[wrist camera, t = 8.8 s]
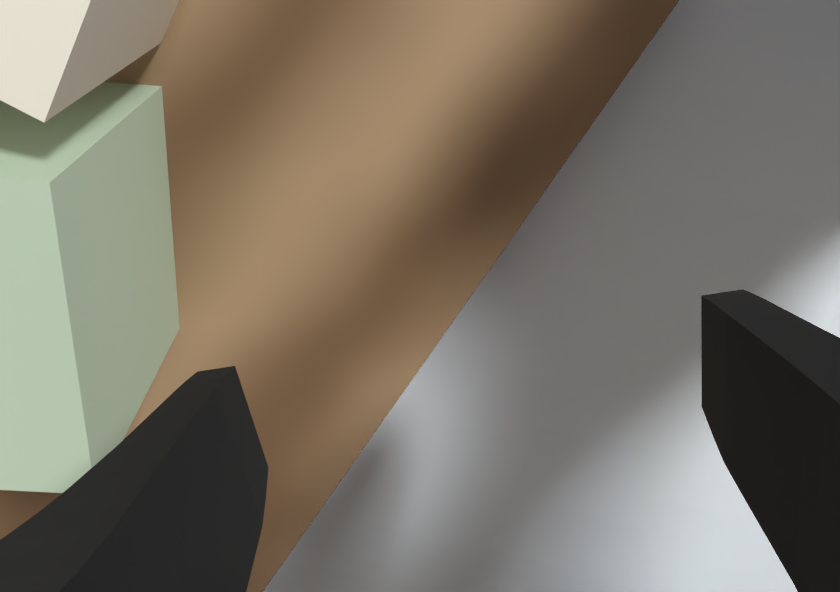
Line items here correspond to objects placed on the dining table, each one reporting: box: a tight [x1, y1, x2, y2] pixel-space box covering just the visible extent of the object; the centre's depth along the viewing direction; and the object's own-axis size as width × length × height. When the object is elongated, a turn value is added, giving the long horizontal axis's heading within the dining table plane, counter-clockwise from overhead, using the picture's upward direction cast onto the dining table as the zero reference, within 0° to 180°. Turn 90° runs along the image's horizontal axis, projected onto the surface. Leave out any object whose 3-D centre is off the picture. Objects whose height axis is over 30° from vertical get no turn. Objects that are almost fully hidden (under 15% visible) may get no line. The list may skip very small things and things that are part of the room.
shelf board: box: [0, 0, 679, 592], centre depth 20 cm, size 16×24×4 cm
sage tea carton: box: [0, 82, 180, 493], centre depth 17 cm, size 4×6×6 cm, turn 176°
